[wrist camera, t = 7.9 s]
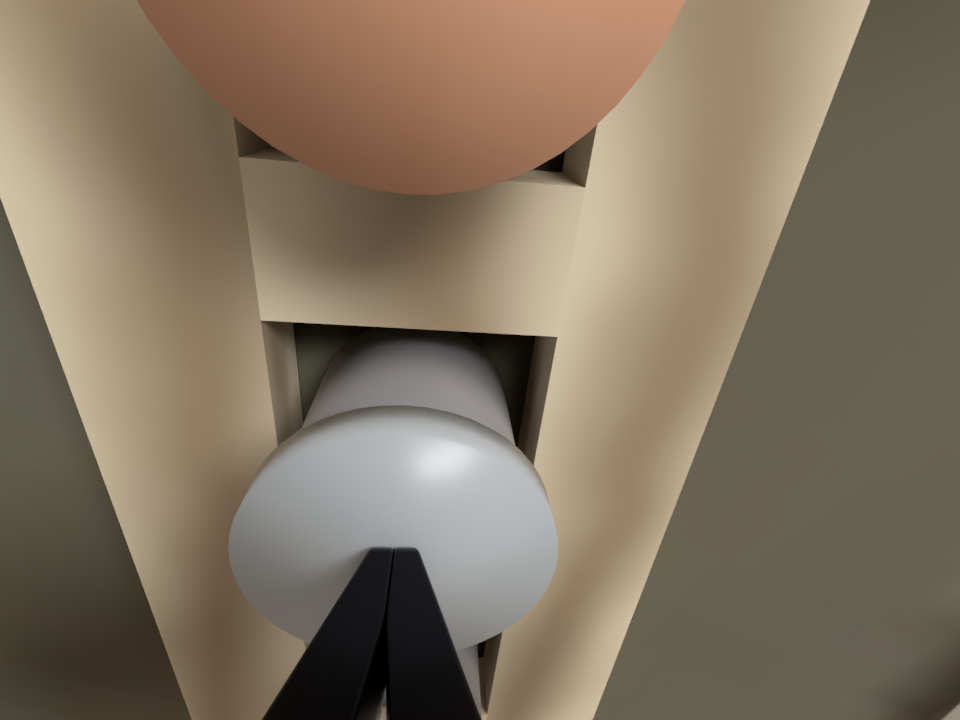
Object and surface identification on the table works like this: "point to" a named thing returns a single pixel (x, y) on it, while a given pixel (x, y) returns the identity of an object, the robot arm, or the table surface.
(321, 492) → the button grey
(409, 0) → the button terracotta
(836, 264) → the table surface
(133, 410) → the button board
